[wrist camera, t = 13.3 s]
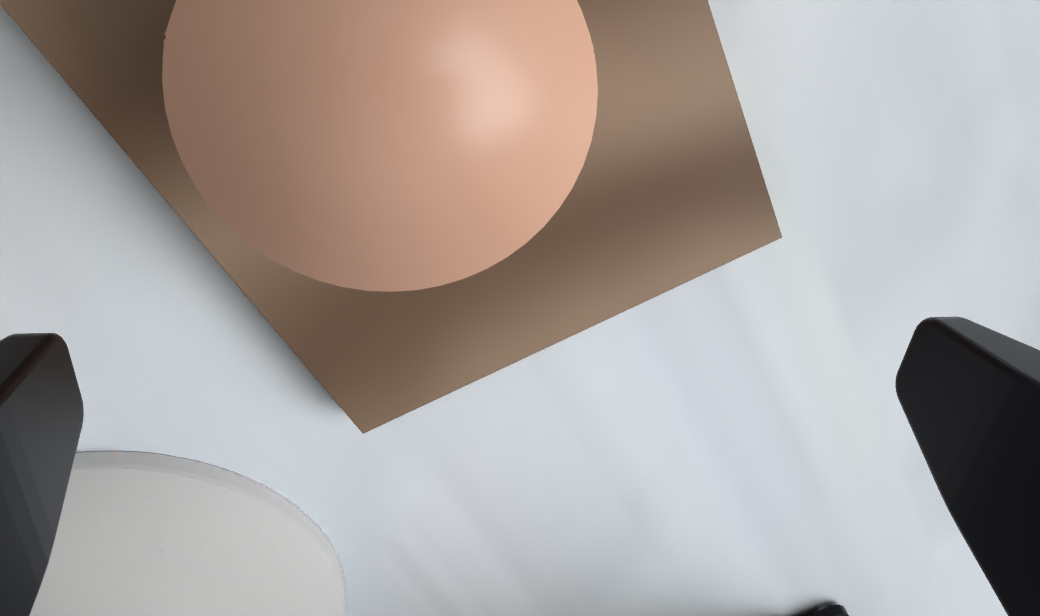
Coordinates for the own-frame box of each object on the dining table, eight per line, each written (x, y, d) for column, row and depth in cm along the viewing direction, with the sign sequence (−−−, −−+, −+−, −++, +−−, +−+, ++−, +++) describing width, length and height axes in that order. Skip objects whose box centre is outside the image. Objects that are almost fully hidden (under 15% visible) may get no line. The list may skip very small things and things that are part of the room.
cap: (593, 92, 17) (655, 184, 13) (336, 225, 18) (326, 348, 14) (451, -231, 13) (480, -228, 10) (140, -46, 14) (56, 21, 10)
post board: (766, 218, 21) (873, 343, 16) (363, 408, 22) (360, 571, 18) (430, -818, 11) (469, -1227, 6) (-257, -346, 12) (-616, -407, 8)
